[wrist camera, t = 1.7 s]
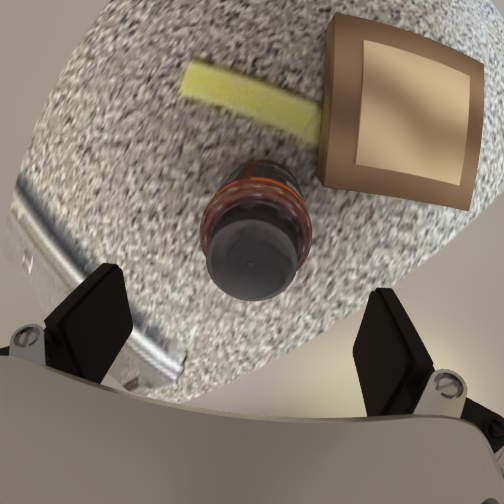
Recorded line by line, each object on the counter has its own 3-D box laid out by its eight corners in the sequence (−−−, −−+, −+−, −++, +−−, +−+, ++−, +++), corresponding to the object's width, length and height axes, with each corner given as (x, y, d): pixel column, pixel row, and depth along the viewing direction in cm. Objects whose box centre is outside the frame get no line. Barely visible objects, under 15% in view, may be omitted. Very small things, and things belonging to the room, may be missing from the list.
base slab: (325, 30, 16) (336, 11, 12) (457, 68, 15) (486, 63, 11) (316, 176, 21) (324, 188, 17) (444, 196, 21) (470, 212, 17)
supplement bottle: (218, 221, 24) (174, 301, 13) (233, 150, 21) (191, 179, 11) (289, 239, 24) (294, 330, 14) (309, 170, 21) (339, 217, 11)
